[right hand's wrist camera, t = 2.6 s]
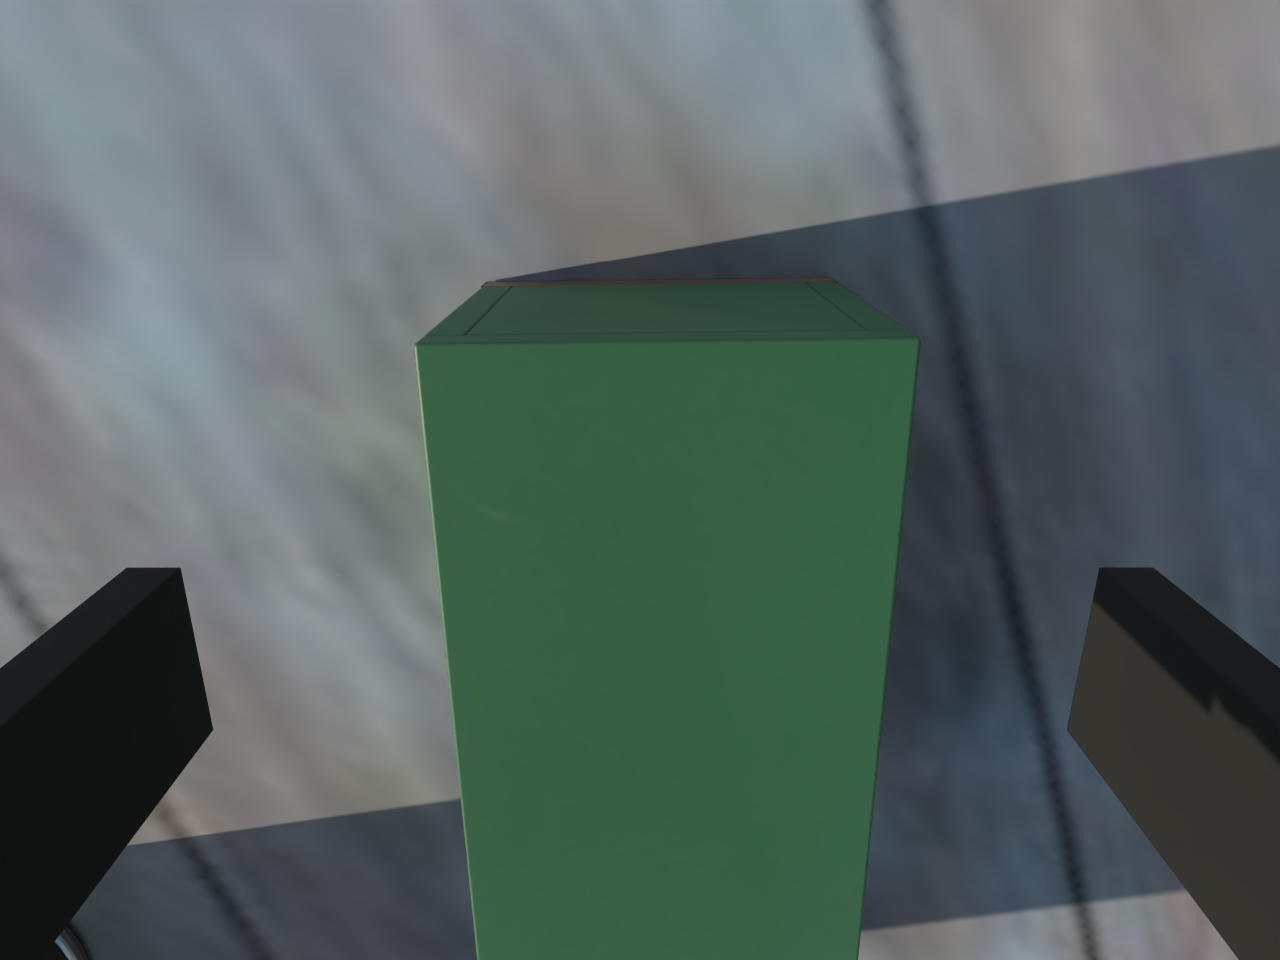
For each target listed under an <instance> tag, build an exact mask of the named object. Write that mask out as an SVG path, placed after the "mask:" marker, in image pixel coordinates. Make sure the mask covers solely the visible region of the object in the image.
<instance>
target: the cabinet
mask: <svg viewBox="0 0 1280 960" xmlns="http://www.w3.org/2000/svg"><path fill="white" fill-rule="evenodd" d="M920 342H921V341H920V338H919V337H917V336H916V335H914V334H913V333H911V332H909V330H908V329H907V328H905V327H903V326H902V325H900V324H899V323H897V322H896V321H894V320H893V319H891V318H890V317H888V316H887V315H885V314H884V313H882V312H881V311H879V310H877V309H876V308H874V307H873V306H871V305H870V304H868V303H867V302H865V301H864V300H862V299H861V298H859V297H858V296H856V295H854V294H853V293H851V292H850V291H848V290H847V289H845V288H844V287H842V286H841V285H839V284H838V283H837V282H836V281H835V280H833V279H832V278H756V279H673V280H590V281H507V282H486V283H485V284H483V285H482V286H481V289H480V290H478V291H477V292H476V293H475V294H474V295H473V296H471V297H470V298H469V299H468V300H467V301H465V302H464V303H463V304H462V305H461V306H459V307H458V308H457V309H456V310H455V311H453V312H452V313H451V314H450V315H449V316H447V317H446V318H445V319H444V320H443V321H441V322H440V323H439V324H438V325H437V326H435V327H434V328H433V329H432V330H431V331H429V332H428V333H427V334H426V335H425V336H424V337H423V338H421V339H420V340H419V341H418V342H417V343H416V344H415V345H414V353H415V363H416V372H417V382H418V392H419V401H420V411H421V421H422V430H423V440H424V450H425V459H426V469H427V478H428V488H429V498H430V507H431V517H432V527H433V536H434V546H435V556H436V565H437V575H438V585H439V594H440V604H441V614H442V623H443V633H444V643H445V652H446V662H447V671H448V681H449V691H450V700H451V710H452V720H453V729H454V739H455V749H456V758H457V768H458V778H459V787H460V797H461V807H462V816H463V826H464V836H465V845H466V855H467V864H468V874H469V884H470V893H471V903H472V913H473V922H474V932H475V942H476V951H477V960H858V954H859V944H860V934H861V924H862V914H863V905H864V895H865V885H866V875H867V865H868V855H869V845H870V835H871V826H872V816H873V806H874V796H875V786H876V776H877V766H878V756H879V747H880V737H881V727H882V717H883V707H884V697H885V687H886V677H887V668H888V658H889V648H890V638H891V628H892V618H893V608H894V598H895V589H896V579H897V569H898V559H899V549H900V539H901V529H902V520H903V510H904V500H905V490H906V480H907V470H908V460H909V450H910V441H911V431H912V421H913V411H914V401H915V391H916V381H917V371H918V362H919V352H920Z"/></svg>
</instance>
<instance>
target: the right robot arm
mask: <svg viewBox="0 0 1280 960" xmlns="http://www.w3.org/2000/svg"><path fill="white" fill-rule="evenodd" d="M212 731H213V727H212V722H211V717H210V712H209V707H208V702H207V697H206V692H205V687H204V682H203V677H202V672H201V667H200V662H199V657H198V652H197V647H196V642H195V637H194V632H193V627H192V622H191V617H190V612H189V608H188V603H187V598H186V593H185V588H184V583H183V578H182V573H181V568H126V569H125V570H123V571H122V572H121V573H120V574H118V575H117V576H116V577H115V578H113V579H112V580H111V581H110V582H108V583H107V584H106V585H105V586H103V587H102V588H101V589H100V590H98V591H97V592H96V593H94V594H93V595H92V596H91V597H89V598H88V599H87V600H86V601H84V602H83V603H82V604H81V605H79V606H78V607H77V608H76V609H74V610H73V611H72V612H71V613H69V614H68V615H67V616H66V617H64V618H63V619H62V620H61V621H59V622H58V623H57V624H56V625H54V626H53V627H52V628H50V629H49V630H48V631H47V632H45V633H44V634H43V635H42V636H40V637H39V638H38V639H37V640H35V641H34V642H33V643H32V644H30V645H29V646H28V647H27V648H25V649H24V650H23V651H22V652H20V653H19V654H18V655H17V656H15V657H14V658H13V659H12V660H10V661H9V662H8V663H7V664H5V665H4V666H3V667H1V668H0V960H41V959H42V958H43V956H44V955H45V954H46V952H47V951H48V950H49V948H50V947H51V946H52V944H53V943H54V942H55V940H56V939H57V938H58V936H59V935H60V934H61V932H62V931H63V930H64V928H65V927H66V926H67V924H68V923H69V922H70V920H71V919H72V918H73V916H74V915H75V914H76V912H77V911H78V910H79V908H80V907H81V906H82V904H83V903H84V902H85V900H86V899H87V898H88V896H89V895H90V894H91V892H92V891H93V890H94V888H95V887H96V886H97V884H98V883H99V882H100V880H101V879H102V878H103V876H104V875H105V874H106V872H107V871H108V870H109V868H110V867H111V866H112V864H113V863H114V862H115V860H116V859H117V858H118V856H119V855H120V854H121V852H122V851H123V850H124V848H125V847H126V846H127V844H128V843H129V842H130V840H131V839H132V838H133V836H134V835H135V834H136V832H137V831H138V830H139V828H140V827H141V826H142V824H143V823H144V822H145V820H146V819H147V818H148V816H149V815H150V814H151V812H152V811H153V809H154V808H155V807H156V805H157V804H158V803H159V801H160V800H161V799H162V797H163V796H164V795H165V793H166V792H167V791H168V789H169V788H170V787H171V785H172V784H173V783H174V781H175V780H176V779H177V777H178V776H179V775H180V773H181V772H182V771H183V769H184V768H185V767H186V765H187V764H188V763H189V761H190V760H191V759H192V757H193V756H194V755H195V753H196V752H197V751H198V749H199V748H200V747H201V745H202V744H203V743H204V741H205V740H206V739H207V737H208V736H209V735H210V733H211V732H212ZM1067 731H1068V732H1069V733H1070V735H1071V736H1072V737H1073V739H1074V740H1075V741H1076V743H1077V744H1078V745H1079V747H1080V748H1081V749H1082V751H1083V752H1084V753H1085V755H1086V756H1087V757H1088V759H1089V760H1090V761H1091V763H1092V764H1093V765H1094V767H1095V768H1096V769H1097V771H1098V772H1099V773H1100V775H1101V776H1102V777H1103V779H1104V780H1105V781H1106V783H1107V784H1108V785H1109V787H1110V788H1111V789H1112V791H1113V792H1114V793H1115V795H1116V796H1117V797H1118V799H1119V800H1120V801H1121V803H1122V804H1123V805H1124V807H1125V808H1126V809H1127V811H1128V812H1129V814H1130V815H1131V816H1132V818H1133V819H1134V820H1135V822H1136V823H1137V824H1138V826H1139V827H1140V828H1141V830H1142V831H1143V832H1144V834H1145V835H1146V836H1147V838H1148V839H1149V840H1150V842H1151V843H1152V844H1153V846H1154V847H1155V848H1156V850H1157V851H1158V852H1159V854H1160V855H1161V856H1162V858H1163V859H1164V860H1165V862H1166V863H1167V864H1168V866H1169V867H1170V868H1171V870H1172V871H1173V872H1174V874H1175V875H1176V876H1177V878H1178V879H1179V880H1180V882H1181V883H1182V884H1183V886H1184V887H1185V888H1186V890H1187V891H1188V892H1189V894H1190V895H1191V896H1192V898H1193V899H1194V900H1195V902H1196V903H1197V904H1198V906H1199V907H1200V908H1201V910H1202V911H1203V912H1204V914H1205V915H1206V916H1207V918H1208V919H1209V920H1210V922H1211V923H1212V924H1213V926H1214V927H1215V928H1216V930H1217V931H1218V932H1219V934H1220V935H1221V936H1222V938H1223V939H1224V940H1225V942H1226V943H1227V944H1228V946H1229V947H1230V948H1231V950H1232V951H1233V952H1234V954H1235V955H1236V956H1237V958H1238V959H1239V960H1280V668H1279V667H1277V666H1276V665H1275V664H1273V663H1272V662H1271V661H1270V660H1268V659H1267V658H1266V657H1265V656H1263V655H1262V654H1261V653H1260V652H1258V651H1257V650H1256V649H1255V648H1253V647H1252V646H1251V645H1250V644H1248V643H1247V642H1246V641H1245V640H1243V639H1242V638H1241V637H1240V636H1238V635H1237V634H1236V633H1235V632H1233V631H1232V630H1231V629H1230V628H1228V627H1227V626H1226V625H1224V624H1223V623H1222V622H1221V621H1219V620H1218V619H1217V618H1216V617H1214V616H1213V615H1212V614H1211V613H1209V612H1208V611H1207V610H1206V609H1204V608H1203V607H1202V606H1201V605H1199V604H1198V603H1197V602H1196V601H1194V600H1193V599H1192V598H1191V597H1189V596H1188V595H1187V594H1186V593H1184V592H1183V591H1182V590H1180V589H1179V588H1178V587H1177V586H1175V585H1174V584H1173V583H1172V582H1170V581H1169V580H1168V579H1167V578H1165V577H1164V576H1163V575H1162V574H1160V573H1159V572H1158V571H1157V570H1155V569H1154V568H1099V573H1098V578H1097V583H1096V588H1095V593H1094V598H1093V603H1092V608H1091V612H1090V617H1089V622H1088V627H1087V632H1086V637H1085V642H1084V647H1083V652H1082V657H1081V662H1080V667H1079V672H1078V677H1077V682H1076V687H1075V692H1074V697H1073V702H1072V707H1071V712H1070V717H1069V722H1068V727H1067Z"/></svg>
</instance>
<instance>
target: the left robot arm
mask: <svg viewBox="0 0 1280 960" xmlns="http://www.w3.org/2000/svg"><path fill="white" fill-rule="evenodd" d="M41 960H88V957H87V955H86V953H85V951H84V949H83V947H82V945H81V944H80V942H79V940H78V939H77V938H76V936H75V935H74V934H73V932H72V931H71V930H70V929H69V928H68V927H67V926H66V927H65V928H64V930H63V931H62V932H61V934H60V935H59V936H58V938H57V939H56V940H55V942H54V943H53V944H52V946H51V947H50V948H49V950H48V951H47V952H46V954H45V955H44V956H43V958H42V959H41Z"/></svg>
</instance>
